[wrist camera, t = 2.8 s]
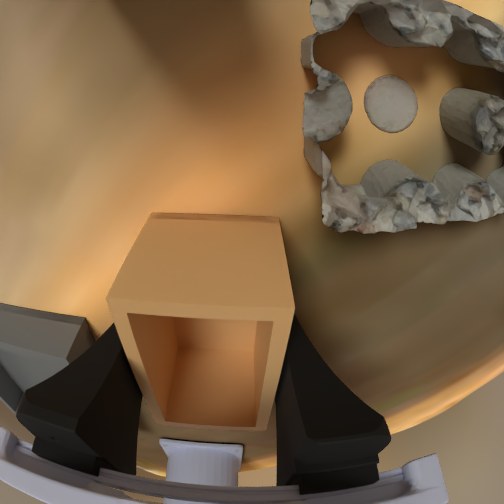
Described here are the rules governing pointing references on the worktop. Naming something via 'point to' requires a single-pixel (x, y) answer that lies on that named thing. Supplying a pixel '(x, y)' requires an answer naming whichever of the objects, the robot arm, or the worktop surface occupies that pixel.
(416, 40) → the egg carton
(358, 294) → the worktop surface
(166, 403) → the orange crate
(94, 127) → the worktop surface
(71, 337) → the charcoal bin
